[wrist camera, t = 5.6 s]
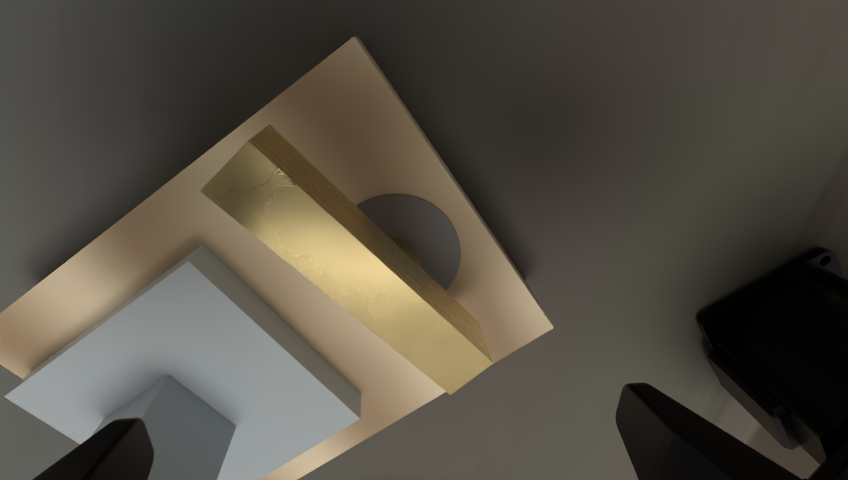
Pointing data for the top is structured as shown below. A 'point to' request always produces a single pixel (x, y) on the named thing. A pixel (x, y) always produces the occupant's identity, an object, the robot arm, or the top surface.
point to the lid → (195, 378)
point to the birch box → (274, 277)
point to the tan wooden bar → (349, 258)
